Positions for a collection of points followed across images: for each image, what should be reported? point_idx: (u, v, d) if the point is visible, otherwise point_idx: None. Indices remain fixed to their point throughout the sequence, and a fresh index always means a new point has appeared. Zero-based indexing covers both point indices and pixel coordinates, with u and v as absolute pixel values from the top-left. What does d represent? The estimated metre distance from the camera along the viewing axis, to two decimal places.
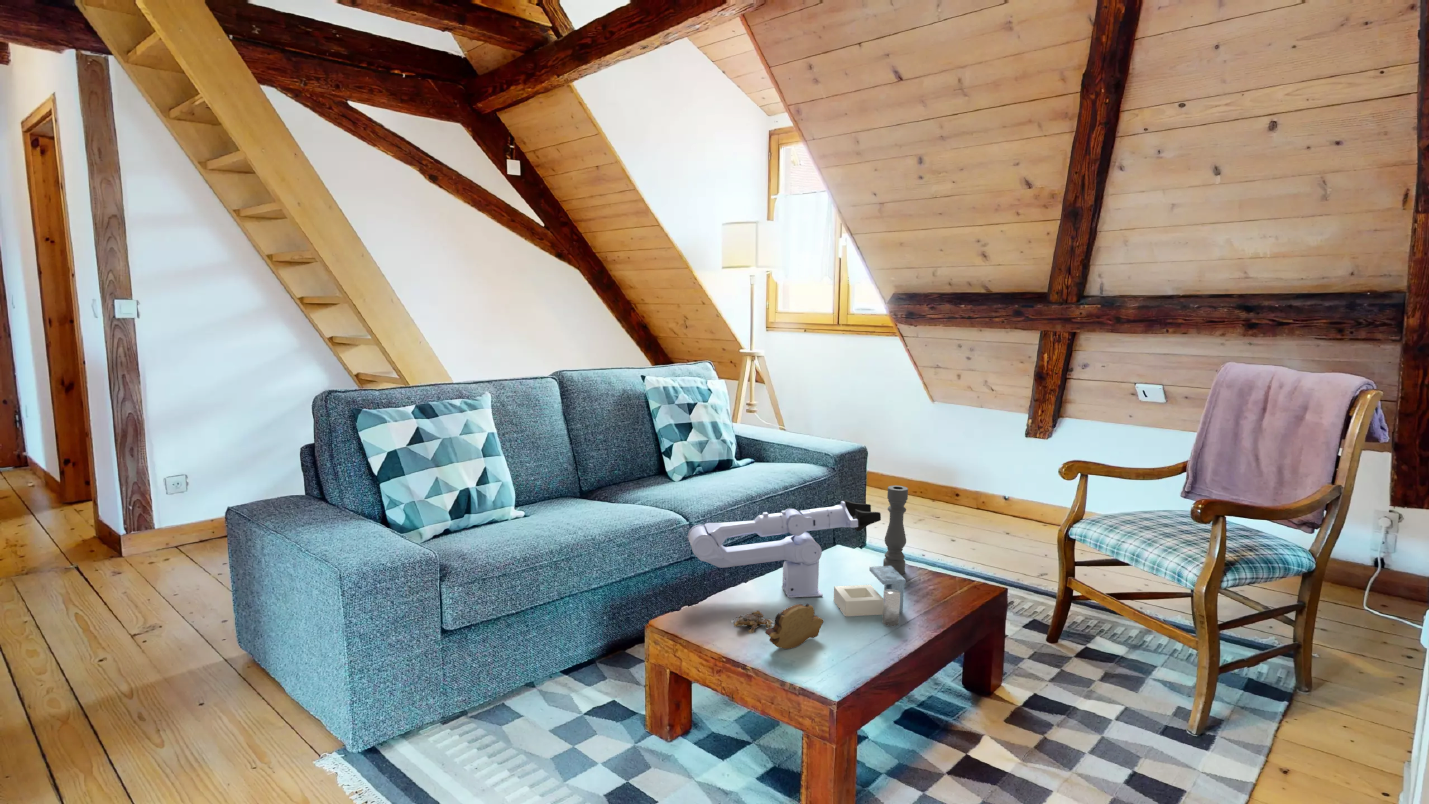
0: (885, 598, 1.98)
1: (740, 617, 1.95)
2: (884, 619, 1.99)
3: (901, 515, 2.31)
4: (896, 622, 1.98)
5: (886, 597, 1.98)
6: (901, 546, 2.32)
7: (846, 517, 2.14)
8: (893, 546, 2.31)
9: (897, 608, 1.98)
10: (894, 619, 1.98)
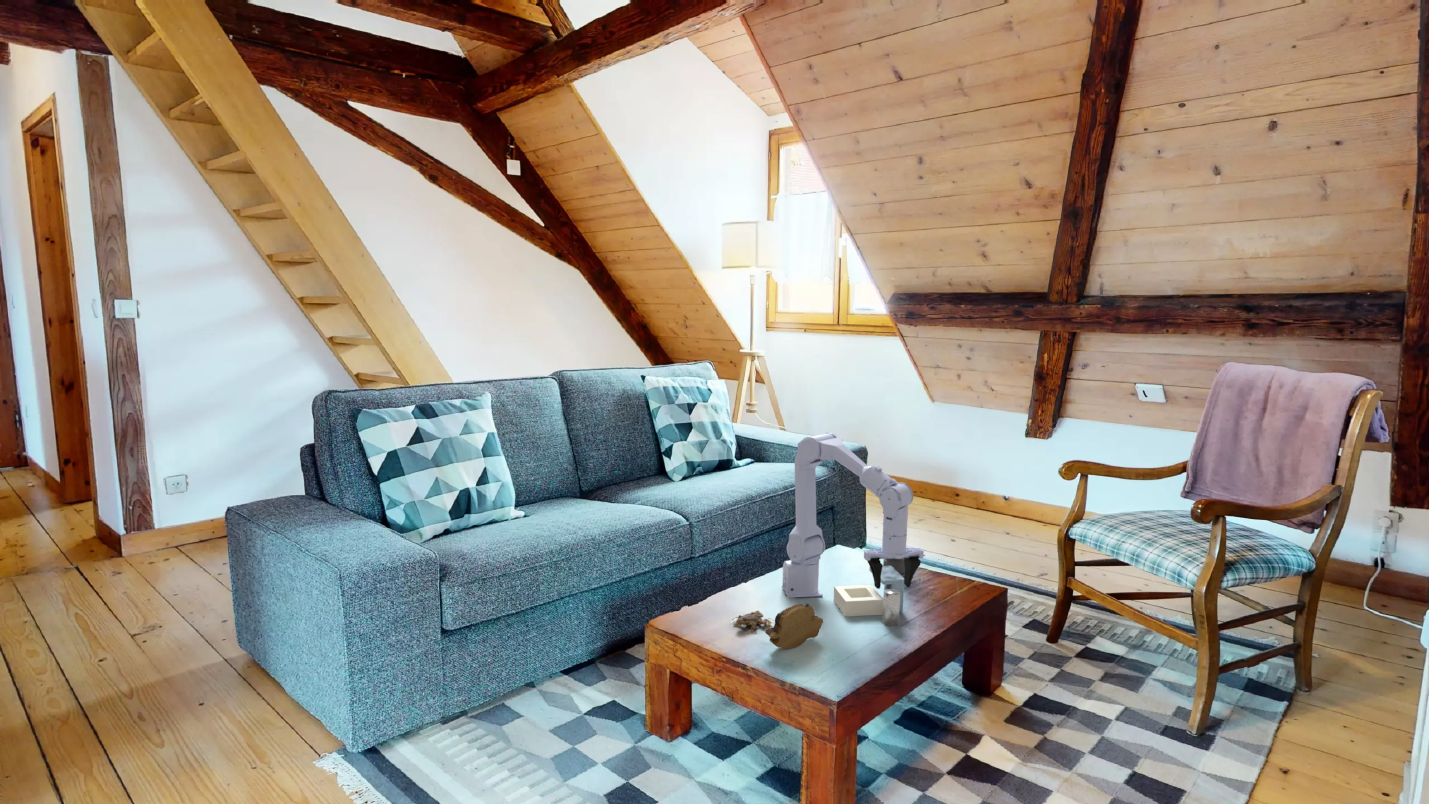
0: (885, 598, 1.98)
1: (740, 617, 1.95)
2: (884, 619, 1.99)
3: None
4: (896, 622, 1.98)
5: (886, 597, 1.98)
6: None
7: (883, 552, 1.96)
8: None
9: (897, 608, 1.98)
10: (894, 619, 1.98)
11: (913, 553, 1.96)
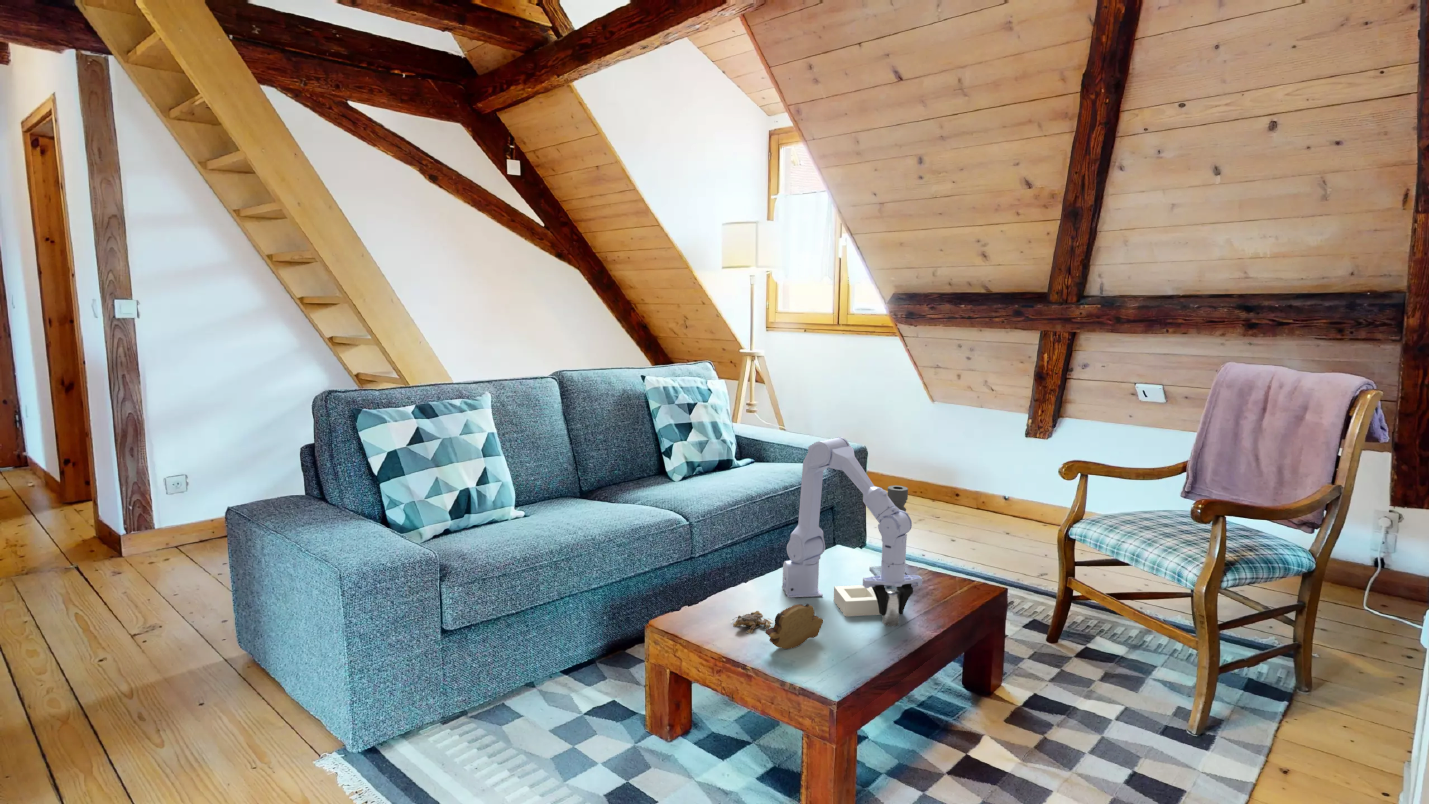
0: None
1: (739, 617, 1.95)
2: (884, 619, 1.99)
3: None
4: (896, 622, 1.98)
5: (886, 597, 1.98)
6: None
7: (881, 579, 1.97)
8: None
9: (897, 607, 1.98)
10: (894, 619, 1.98)
11: (912, 581, 1.97)
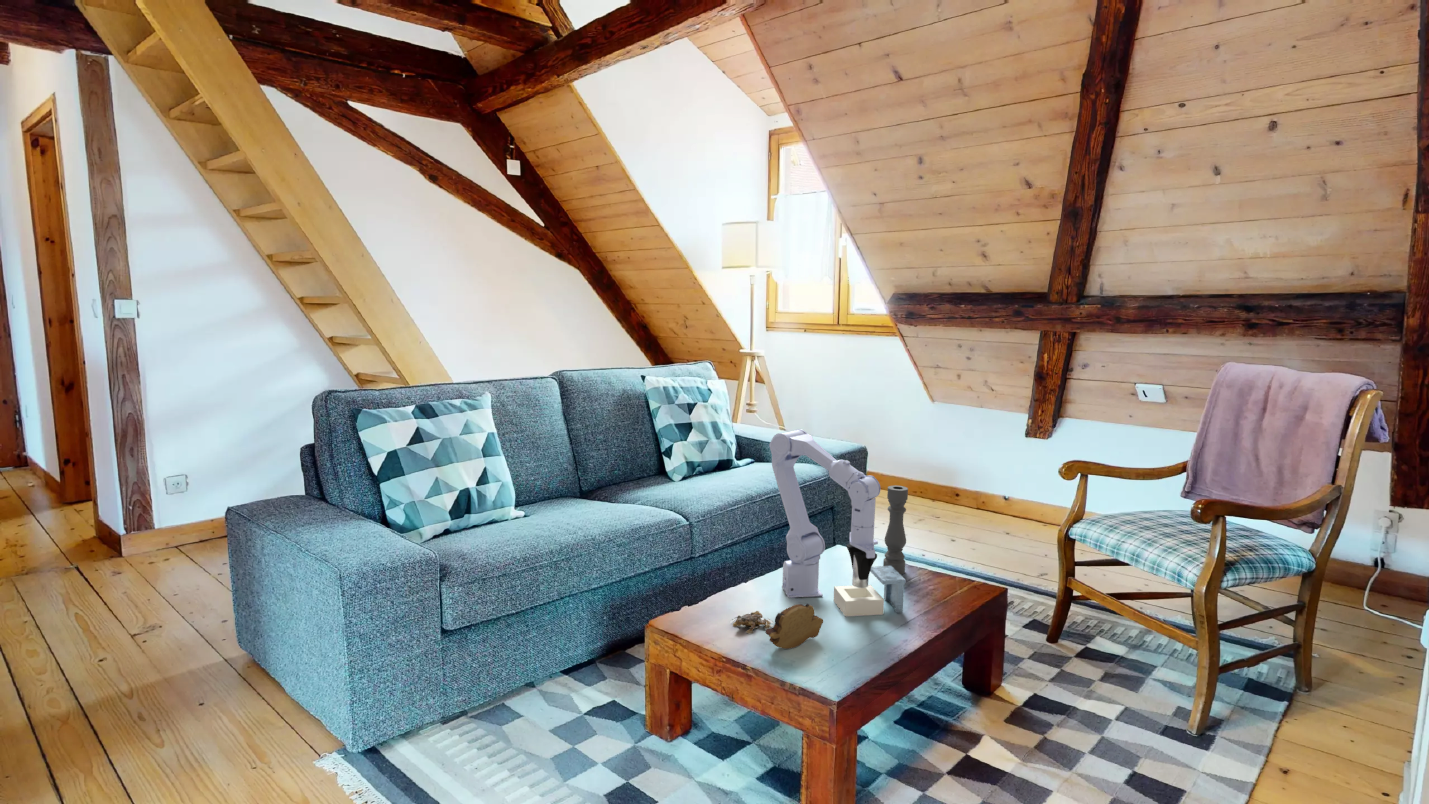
0: None
1: (739, 617, 1.95)
2: (865, 582, 2.04)
3: (901, 515, 2.31)
4: None
5: None
6: (901, 546, 2.32)
7: (867, 545, 2.02)
8: (893, 546, 2.31)
9: None
10: None
11: None
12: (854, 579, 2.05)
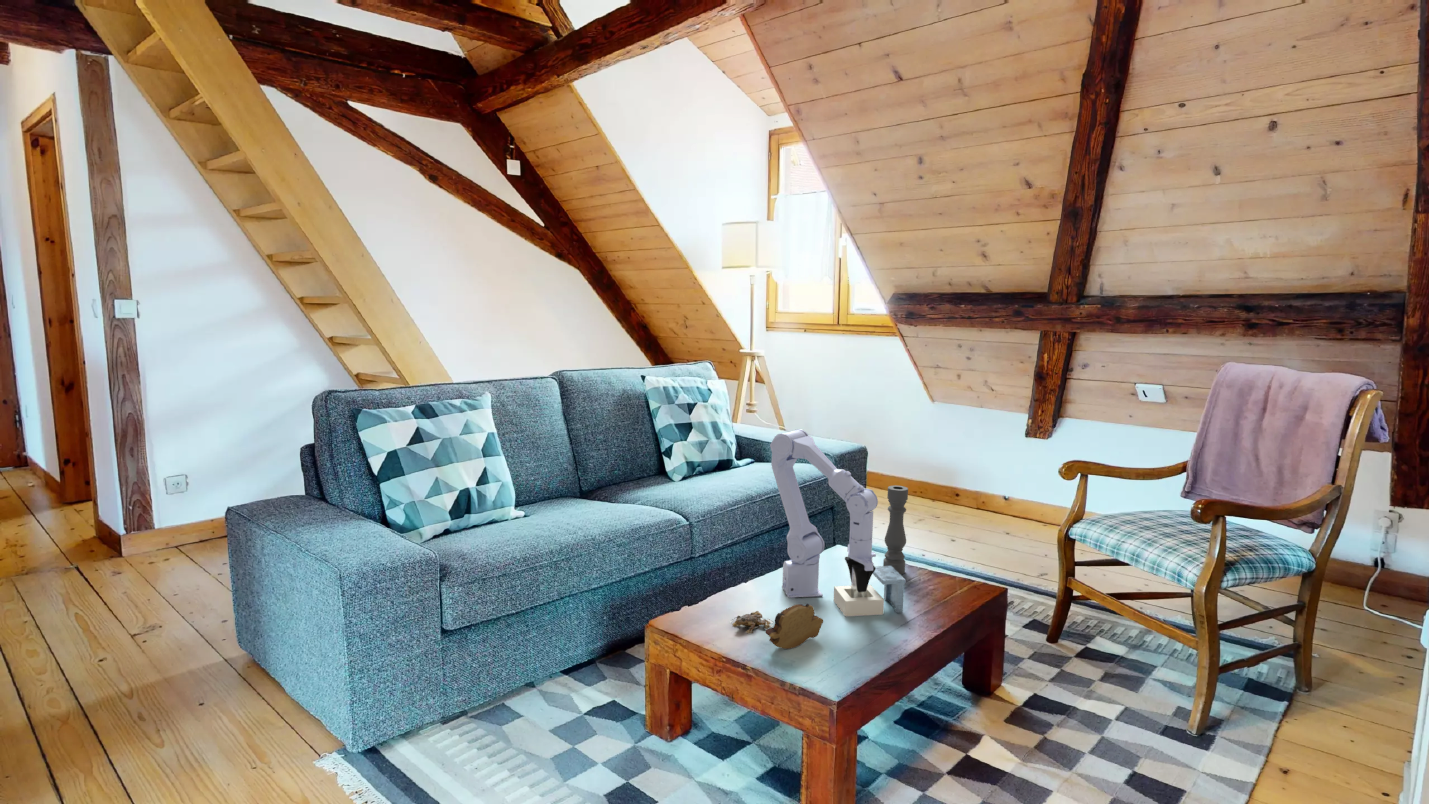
0: None
1: (738, 617, 1.95)
2: (863, 594, 2.07)
3: (901, 515, 2.31)
4: None
5: None
6: (901, 546, 2.32)
7: (865, 558, 2.04)
8: (893, 546, 2.31)
9: None
10: None
11: None
12: (853, 591, 2.07)
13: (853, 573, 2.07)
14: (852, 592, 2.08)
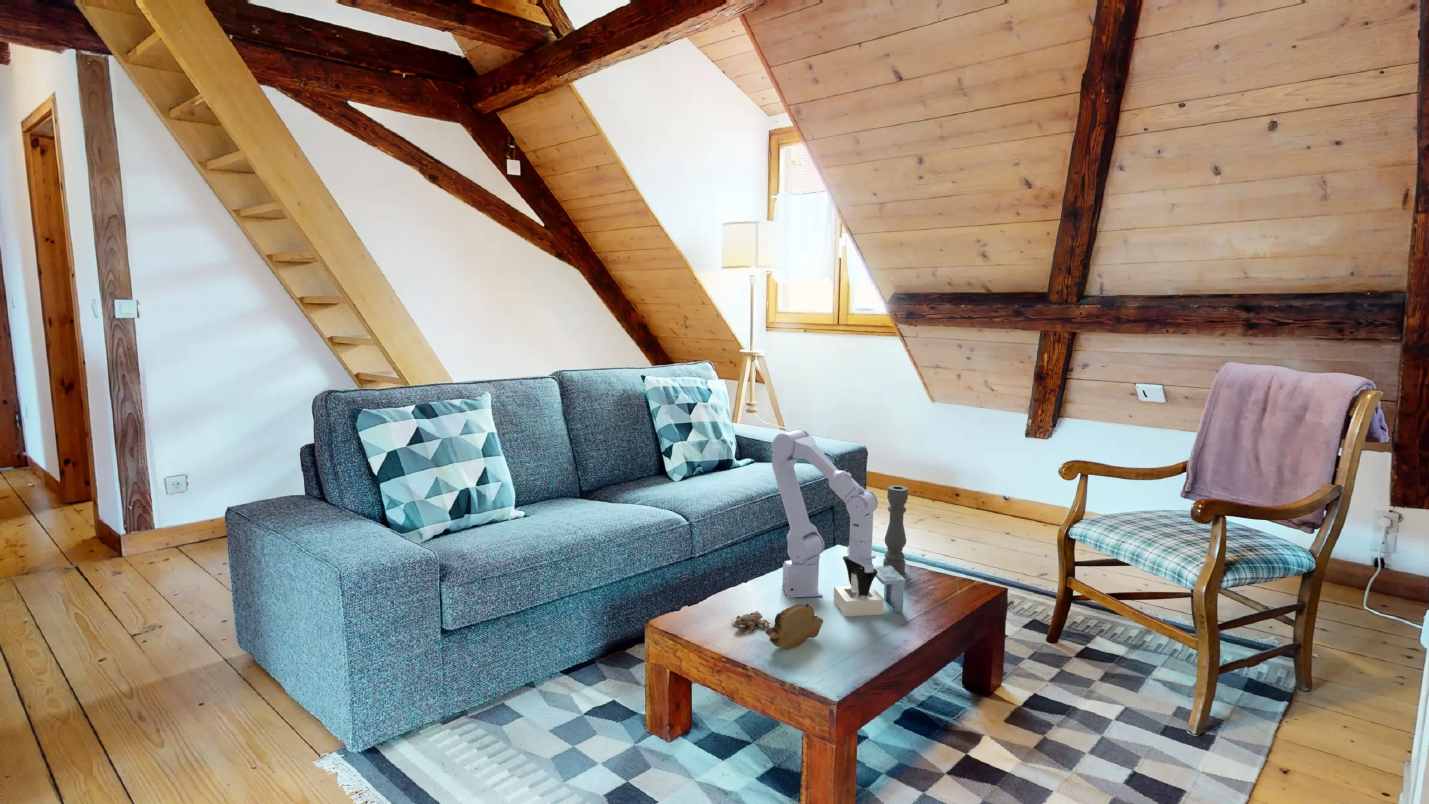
0: None
1: (738, 617, 1.95)
2: None
3: (901, 516, 2.31)
4: None
5: None
6: (901, 546, 2.32)
7: (865, 559, 2.04)
8: (893, 546, 2.31)
9: None
10: None
11: None
12: None
13: (852, 580, 2.07)
14: None
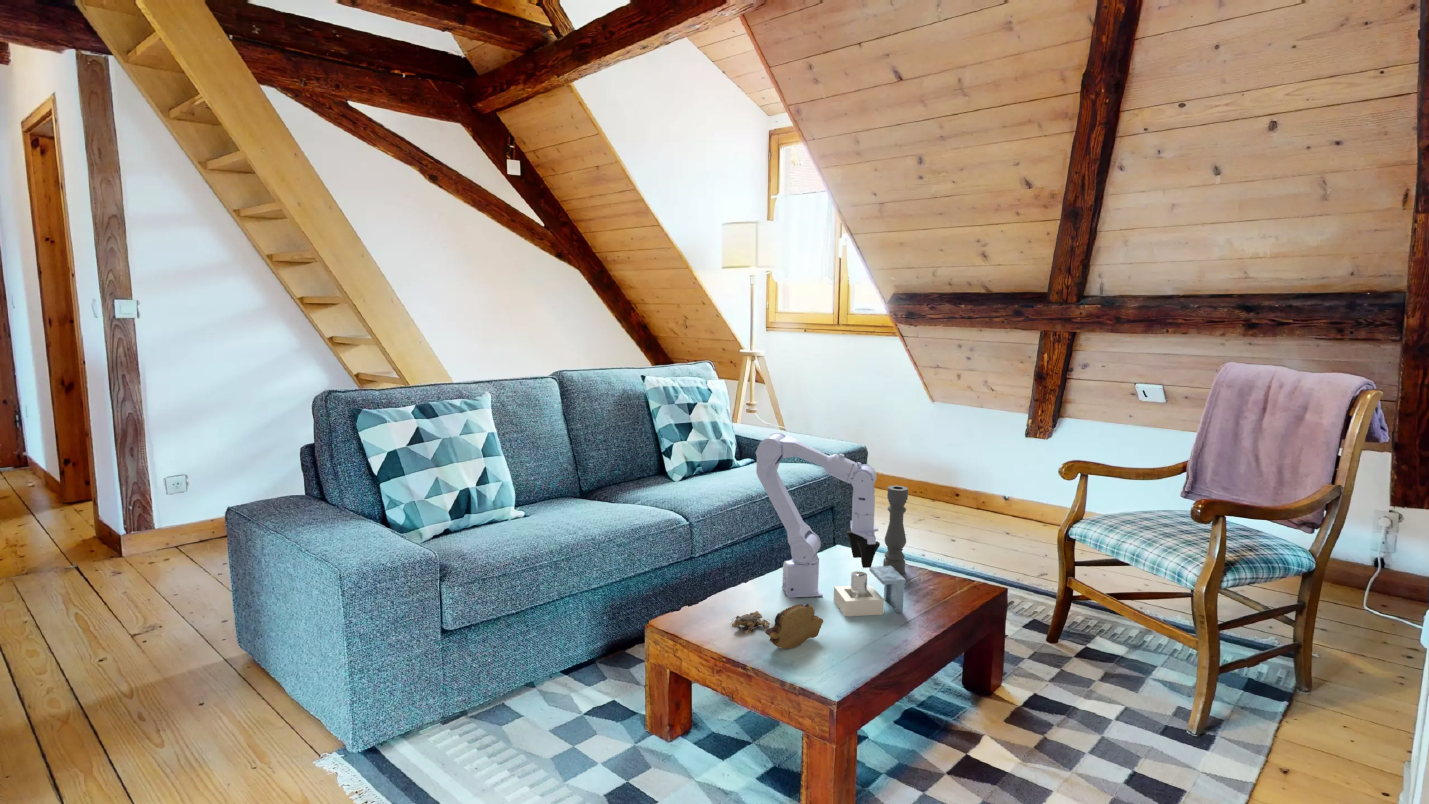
0: (864, 581, 2.06)
1: (737, 617, 1.95)
2: None
3: (901, 515, 2.31)
4: None
5: (865, 579, 2.06)
6: (901, 546, 2.32)
7: (868, 532, 2.08)
8: (893, 546, 2.31)
9: None
10: None
11: None
12: None
13: (852, 580, 2.07)
14: None
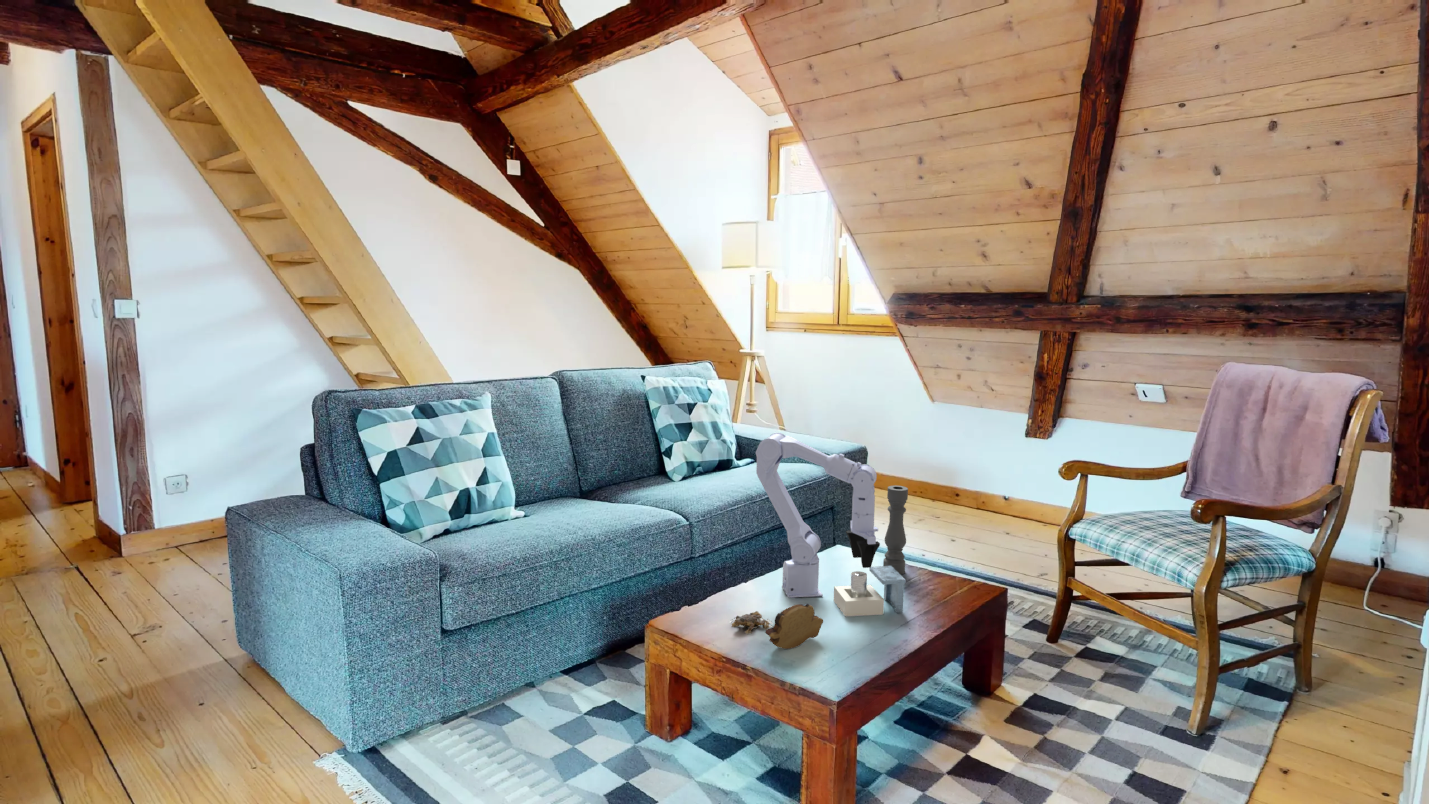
0: (863, 581, 2.06)
1: (737, 617, 1.95)
2: None
3: (901, 516, 2.31)
4: None
5: (864, 579, 2.06)
6: (901, 546, 2.32)
7: (868, 532, 2.08)
8: (893, 546, 2.31)
9: None
10: None
11: None
12: None
13: (852, 580, 2.07)
14: None
